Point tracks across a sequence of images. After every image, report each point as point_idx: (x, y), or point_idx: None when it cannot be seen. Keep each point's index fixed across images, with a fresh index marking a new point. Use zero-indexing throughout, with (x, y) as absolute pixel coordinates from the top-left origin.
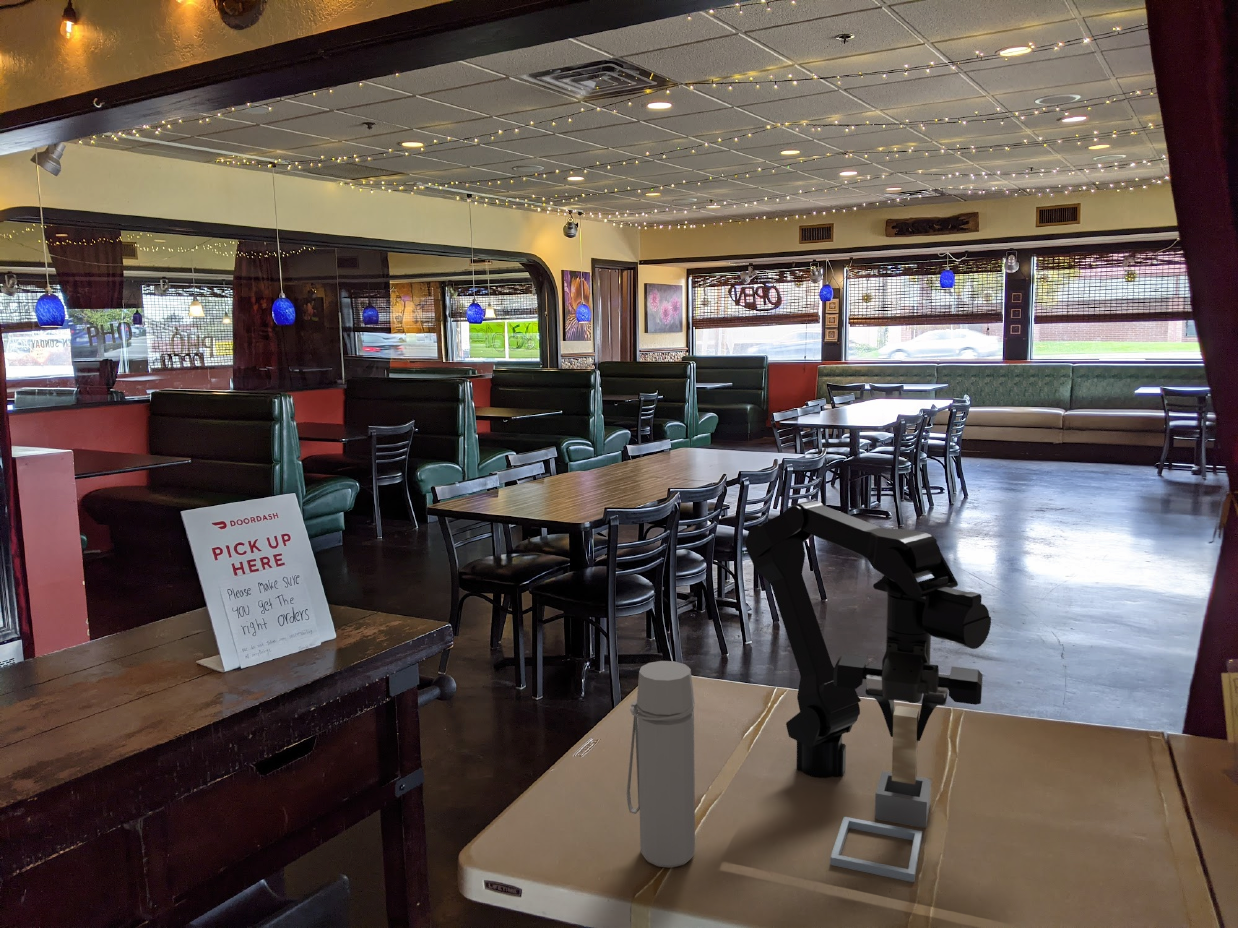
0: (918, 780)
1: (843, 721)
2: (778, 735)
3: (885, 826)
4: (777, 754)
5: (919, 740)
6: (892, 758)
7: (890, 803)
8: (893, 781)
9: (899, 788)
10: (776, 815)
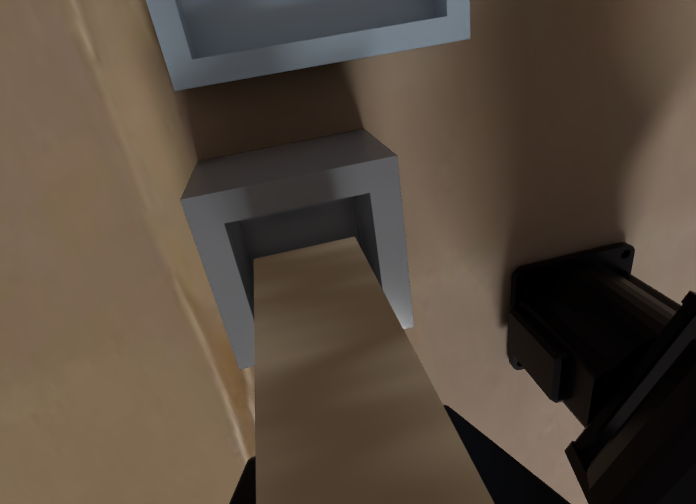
0: None
1: (666, 441)
2: None
3: (310, 48)
4: None
5: (249, 459)
6: (382, 291)
7: (328, 159)
8: None
9: None
10: (664, 4)
